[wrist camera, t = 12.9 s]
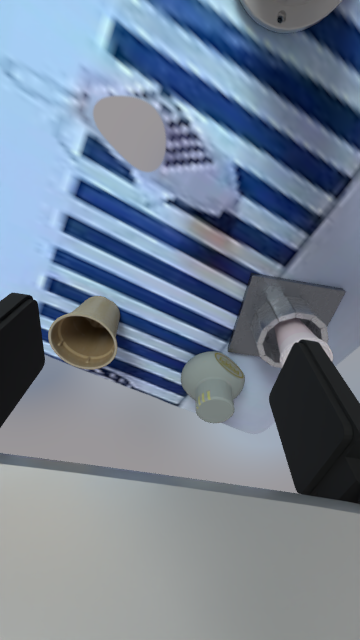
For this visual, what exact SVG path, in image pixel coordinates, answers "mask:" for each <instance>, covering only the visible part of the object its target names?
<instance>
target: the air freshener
mask: <svg viewBox="0 0 360 640" xmlns="http://www.w3.org/2000/svg"><path fill="white" fill-rule="evenodd" d="M244 382H245V377H244V374H243V372H242V371H241V369H240V368H239V367H238V366H237V365H236V364H235V363H234V362H233V361H232V360H231V359H230V358H228V357H227V356H225V355H224V354H222V353H220V352H204V353H201V354H198V355H196V356H195V357H193V358H192V359H190V360H189V361H188V362H187V364H186V365H185V366H184V368H183V370H182V374H181V383H182V386H183V388H184V390H185V391H186V392H187V394H188V395H189V396H190V397H192V398H193V399H194V400H195V401H196V413H197V415H198V416H199V417H200V418H201V419H202V420H204V421H206V422H210V423H221V422H224V421H226V420H228V419H229V418H230V417H231V416H232V415H233V413H234V403H233V399H235V398H236V397H237V396H238V395H239V394H240V392H241V391H242V389H243V386H244Z"/></svg>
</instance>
